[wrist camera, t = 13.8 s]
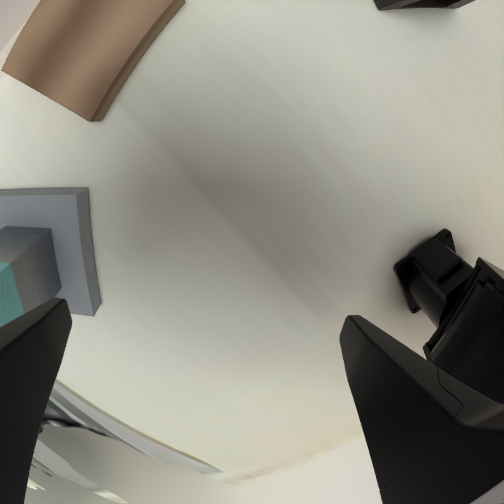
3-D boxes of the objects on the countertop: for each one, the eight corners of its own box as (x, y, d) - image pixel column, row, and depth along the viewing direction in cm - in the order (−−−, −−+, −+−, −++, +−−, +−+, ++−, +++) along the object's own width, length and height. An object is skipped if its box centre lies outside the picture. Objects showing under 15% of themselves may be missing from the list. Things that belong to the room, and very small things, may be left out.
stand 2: (87, 187, 19) (75, 194, 17) (101, 302, 23) (93, 316, 22) (-4, 189, 18) (-18, 196, 16) (16, 290, 22) (6, 301, 20)
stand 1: (185, 2, 14) (181, -9, 12) (101, 120, 17) (89, 121, 15) (85, -36, 11) (75, -45, 9) (15, 71, 14) (0, 70, 12)
